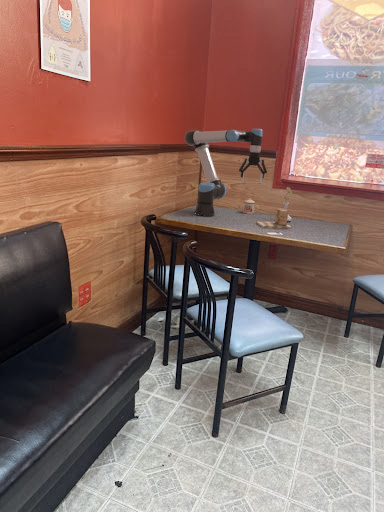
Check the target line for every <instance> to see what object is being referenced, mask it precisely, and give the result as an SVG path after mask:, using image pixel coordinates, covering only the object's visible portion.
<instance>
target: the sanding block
mask: <svg viewBox="0 0 384 512" xmlns="http://www.w3.org/2000/svg"><path fill="white" fill-rule="evenodd" d="M275 210H276V211H275V217H274V219H275V220H274V222H275V223H276V224H278V225H279V226H286V225H288V224H287V223H288V221H287V218H288V215H289V210H285V209H284V208H276V209H275Z"/></svg>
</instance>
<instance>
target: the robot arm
mask: <svg viewBox="0 0 384 512" xmlns="http://www.w3.org/2000/svg"><path fill="white" fill-rule="evenodd" d="M262 141H263V129H261V128H252V129H251V130H250V131H249V130H237V129H230V130H228V129H227V130H214V131H213V130H210V131H205V130H204V131H203V130H196V129H191V130H188V131H187V132H185V134H184V142H185V144H186V145H187V146H190V147H193V149H194V151H195V152H196V153H197V154H198V157H199V161H200V163H201V166H202V170H203V173H204V176H205V178H206V181H205V182H201V183H199V184H198V190H197V191H198V192H197V204H196V207H195V209H194V213H196V214H199V215H205V216H204V217H215V209H214V208H215V207H214V200H220V199H223V198H224V197H225V196H226V194H227V186H226V185H225V184H224V183H222V180H221V178H219V177H218V173H217V171H216V168H215V166H214V162H213V158H212V155H211V152H210V149H209V147H210V143H227V142H229V143H230V142H231V143H233V142H234V143H235V142H236V143H249V144H250V146H249V152H248V153H249V154H248V158H243V162H242V164H241V165H240V167H239V169H238V172H240V177H241V182H242V183H244V182H245V181H244V180H245V172H246V171H247V170H248V168H249V167H250V166H256V167H257V168H258V170H259V172H260V176H259V177H260V178H259V184H263V179H264V177H265V174H267V173H268V171H267V167H266V165H265V160H264V159H260V158H261V149H262ZM247 162H248V163H247ZM260 163H261V165H260ZM261 166H262V167H261ZM194 213H193V214H194ZM199 215H198V216H199Z"/></svg>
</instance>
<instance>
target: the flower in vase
mask: <svg viewBox="0 0 384 512" xmlns="http://www.w3.org/2000/svg"><path fill="white" fill-rule="evenodd" d="M286 191H287V193H286V195H285V196H284V201H282V205H283V209H285V210H287V209H288V206H289V204H290V202H288V200H289V198H287V195H288V196H290V197H293V191H292V189H291V188H290V187H289V186H286ZM287 211H288V210H287ZM290 221H292V217H291V216H290V215H289V214H288V218H287V222H290Z"/></svg>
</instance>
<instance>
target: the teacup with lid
mask: <svg viewBox="0 0 384 512" xmlns="http://www.w3.org/2000/svg"><path fill="white" fill-rule="evenodd" d="M255 206H256V207H257V208H256V207H255ZM255 208H256V209H255ZM258 210H259V205H258V204H256V201H254V200H253V199H252V198H250V197H249V198H248V199H246V200H243V210H242V212H243V214H246V215H247V214H248V215H253V214H254V213H255V212H257V211H258Z"/></svg>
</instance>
